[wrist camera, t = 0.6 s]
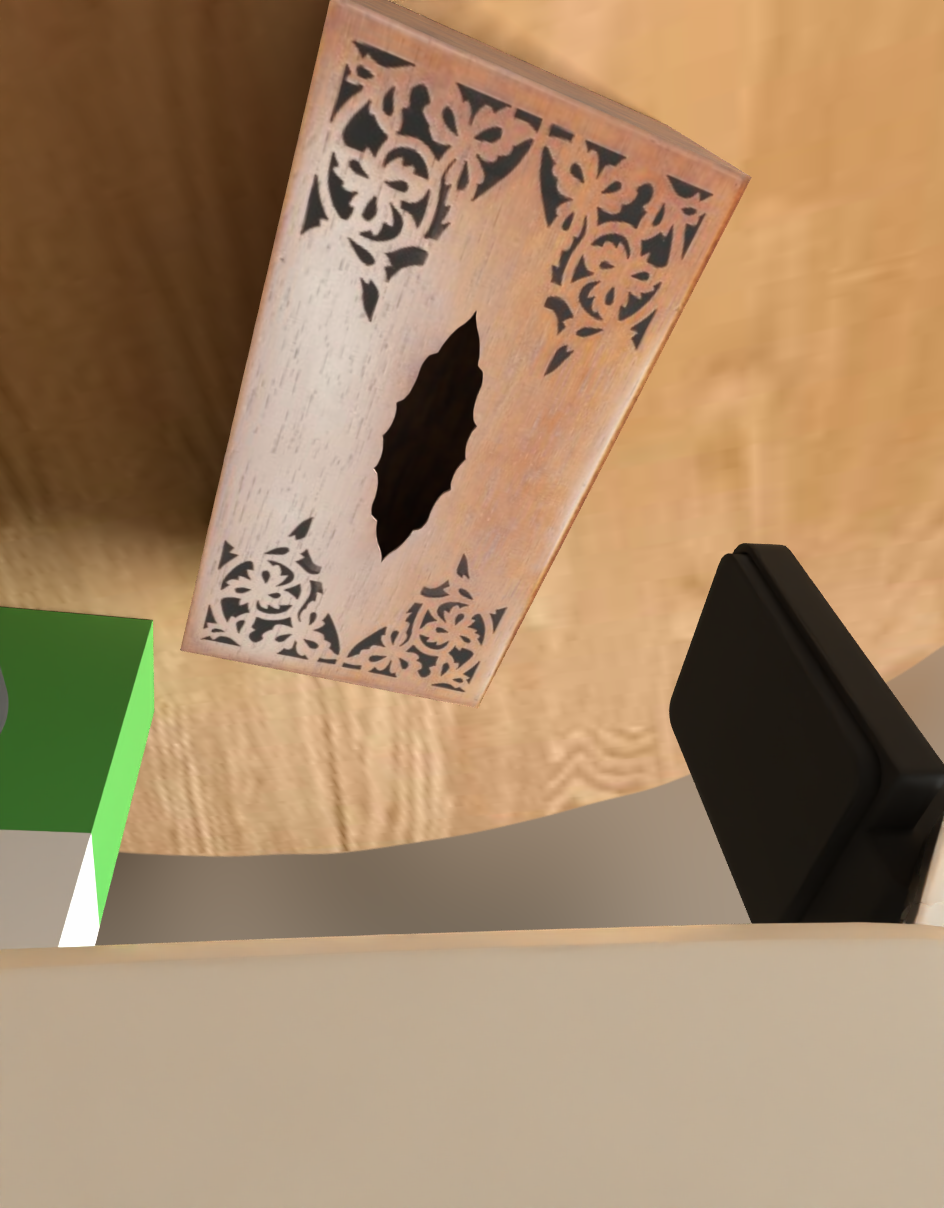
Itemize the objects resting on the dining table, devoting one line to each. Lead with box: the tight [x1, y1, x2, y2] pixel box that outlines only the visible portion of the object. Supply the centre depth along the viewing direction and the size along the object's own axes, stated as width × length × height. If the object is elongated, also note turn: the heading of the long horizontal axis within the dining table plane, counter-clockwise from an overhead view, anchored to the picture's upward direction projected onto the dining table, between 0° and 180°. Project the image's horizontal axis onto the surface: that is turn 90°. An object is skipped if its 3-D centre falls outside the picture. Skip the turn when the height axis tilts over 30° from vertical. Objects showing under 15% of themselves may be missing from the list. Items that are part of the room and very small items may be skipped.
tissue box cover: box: [180, 0, 751, 708], centre depth 38 cm, size 26×14×10 cm, turn 159°
